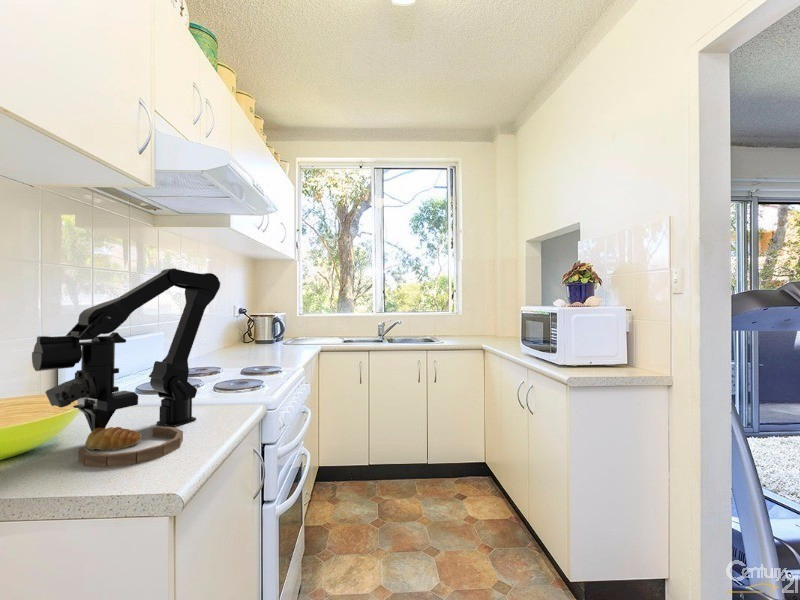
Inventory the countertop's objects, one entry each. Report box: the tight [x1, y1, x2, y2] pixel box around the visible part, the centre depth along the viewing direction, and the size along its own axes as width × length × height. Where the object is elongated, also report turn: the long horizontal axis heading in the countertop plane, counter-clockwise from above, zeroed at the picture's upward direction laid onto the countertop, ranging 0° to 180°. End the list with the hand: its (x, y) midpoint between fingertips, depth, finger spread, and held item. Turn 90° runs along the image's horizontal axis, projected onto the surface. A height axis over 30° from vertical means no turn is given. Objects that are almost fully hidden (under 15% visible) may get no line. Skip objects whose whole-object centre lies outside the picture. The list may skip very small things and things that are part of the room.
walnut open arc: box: [77, 425, 184, 468], centre depth 79 cm, size 18×13×2 cm
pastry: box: [84, 426, 142, 451], centre depth 82 cm, size 9×7×4 cm
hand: (96, 436), depth 84 cm, fingers closed
